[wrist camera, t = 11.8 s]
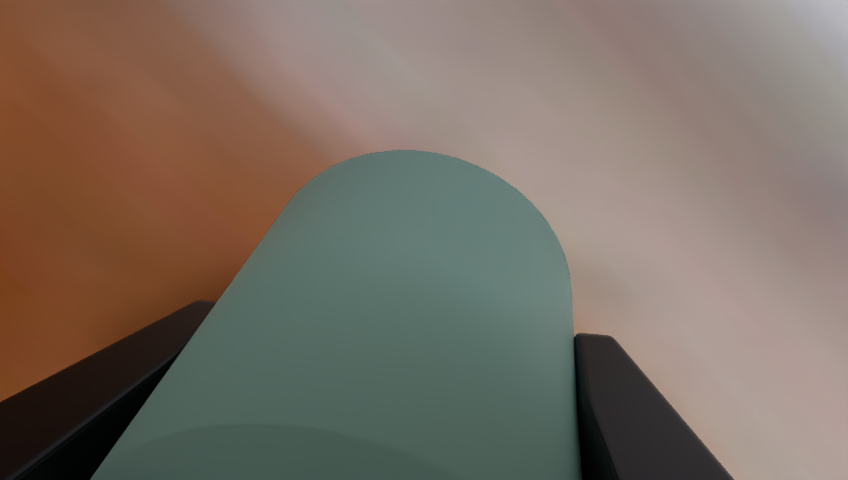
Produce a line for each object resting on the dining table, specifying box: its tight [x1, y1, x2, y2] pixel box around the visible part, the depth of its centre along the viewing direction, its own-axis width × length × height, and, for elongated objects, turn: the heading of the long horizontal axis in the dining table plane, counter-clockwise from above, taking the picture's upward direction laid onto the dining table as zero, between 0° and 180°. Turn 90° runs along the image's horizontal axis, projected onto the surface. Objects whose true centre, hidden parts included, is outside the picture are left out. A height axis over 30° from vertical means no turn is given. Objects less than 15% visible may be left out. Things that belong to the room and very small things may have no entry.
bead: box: [90, 150, 582, 480], centre depth 7 cm, size 4×4×4 cm
